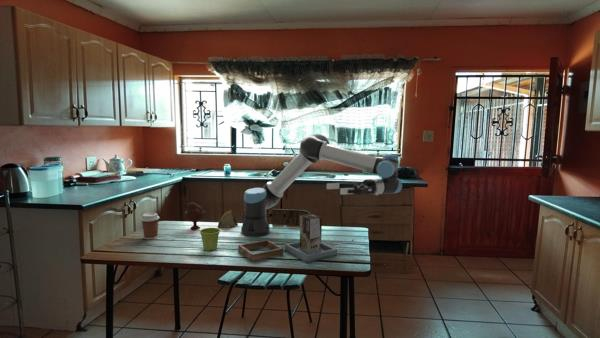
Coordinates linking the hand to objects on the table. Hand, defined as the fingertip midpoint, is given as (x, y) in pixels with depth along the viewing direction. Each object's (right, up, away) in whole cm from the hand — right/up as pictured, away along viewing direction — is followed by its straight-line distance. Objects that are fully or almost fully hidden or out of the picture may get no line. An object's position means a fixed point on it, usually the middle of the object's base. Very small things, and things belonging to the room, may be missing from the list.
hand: (333, 188), depth 167 cm
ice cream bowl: (-74, -24, +34) cm, 85 cm away
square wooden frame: (-33, -29, -5) cm, 44 cm away
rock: (-57, -24, +39) cm, 73 cm away
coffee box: (-11, -28, -4) cm, 30 cm away
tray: (-11, -29, -4) cm, 31 cm away
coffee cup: (-92, -26, +18) cm, 97 cm away
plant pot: (-57, -28, +1) cm, 64 cm away
